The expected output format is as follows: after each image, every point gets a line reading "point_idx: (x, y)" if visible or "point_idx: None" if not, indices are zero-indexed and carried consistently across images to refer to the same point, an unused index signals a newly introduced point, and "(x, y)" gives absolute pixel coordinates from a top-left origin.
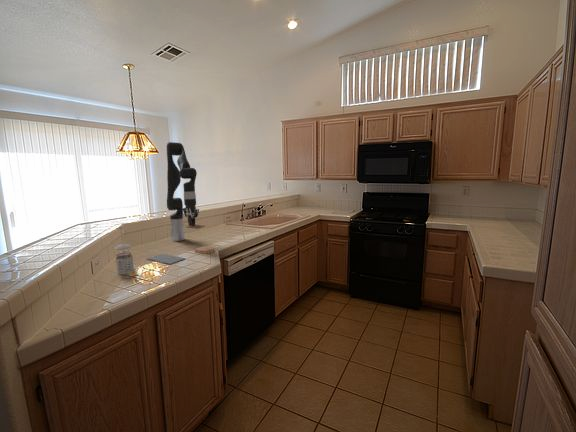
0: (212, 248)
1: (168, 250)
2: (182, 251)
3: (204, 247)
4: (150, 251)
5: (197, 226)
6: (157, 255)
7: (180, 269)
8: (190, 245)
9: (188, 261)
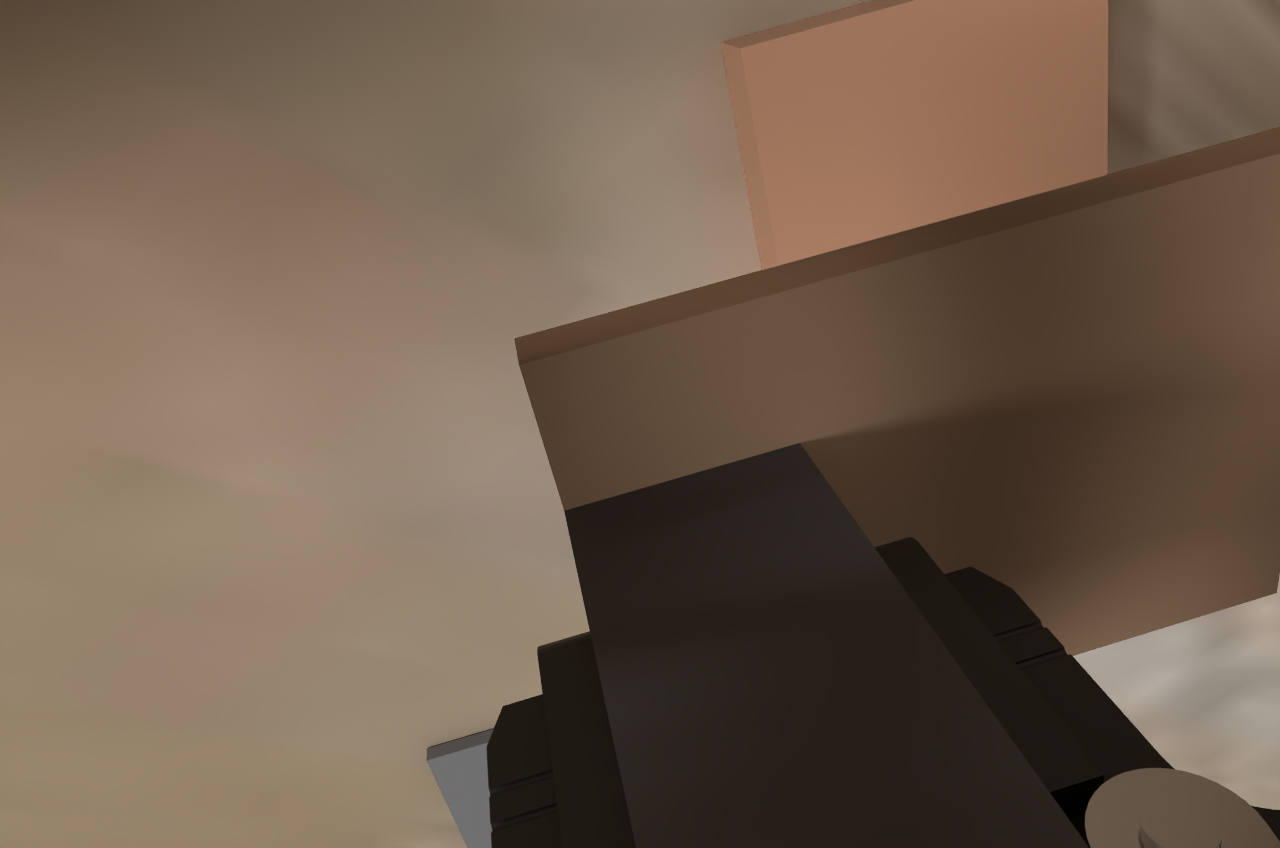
0: (1094, 2)
1: (217, 614)
2: (513, 454)
3: (853, 91)
4: (50, 839)
5: (1137, 487)
6: (483, 825)
7: (1245, 737)
8: (85, 91)
9: None
